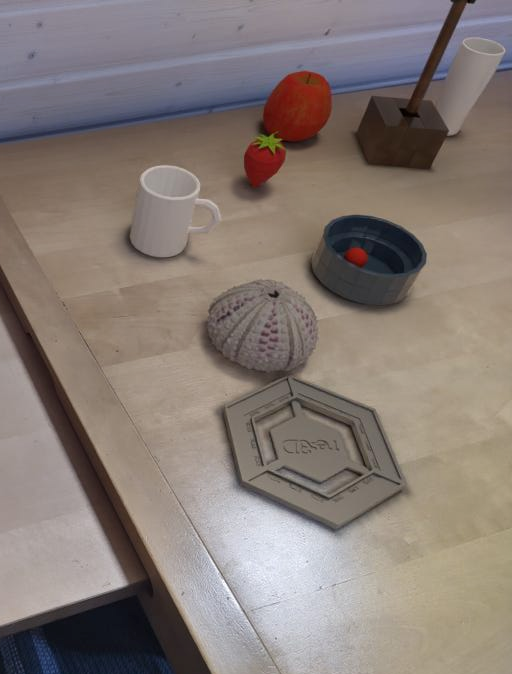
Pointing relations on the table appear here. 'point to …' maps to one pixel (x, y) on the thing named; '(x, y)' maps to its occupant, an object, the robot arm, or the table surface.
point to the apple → (298, 106)
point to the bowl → (368, 259)
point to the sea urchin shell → (263, 326)
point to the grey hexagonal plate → (312, 451)
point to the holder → (401, 133)
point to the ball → (356, 257)
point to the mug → (168, 211)
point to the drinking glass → (467, 80)
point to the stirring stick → (436, 55)
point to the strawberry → (263, 159)
